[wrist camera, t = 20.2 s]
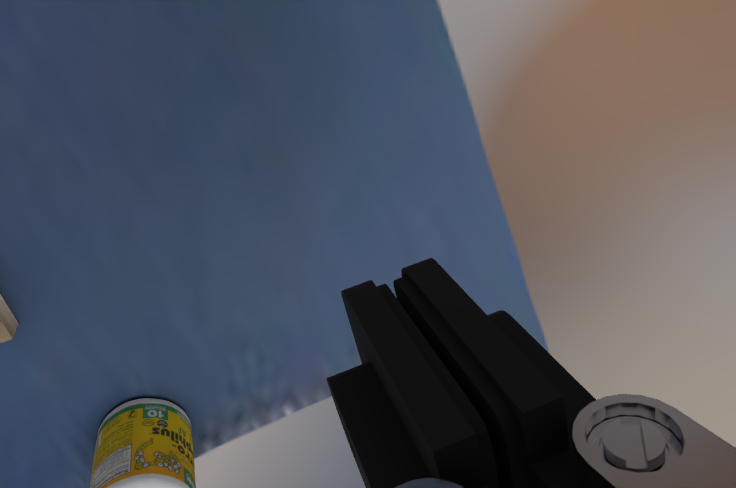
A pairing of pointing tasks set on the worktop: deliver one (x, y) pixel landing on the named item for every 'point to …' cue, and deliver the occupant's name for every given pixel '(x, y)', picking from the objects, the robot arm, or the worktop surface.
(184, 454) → the supplement bottle
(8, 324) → the shaft bracket
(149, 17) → the worktop surface
